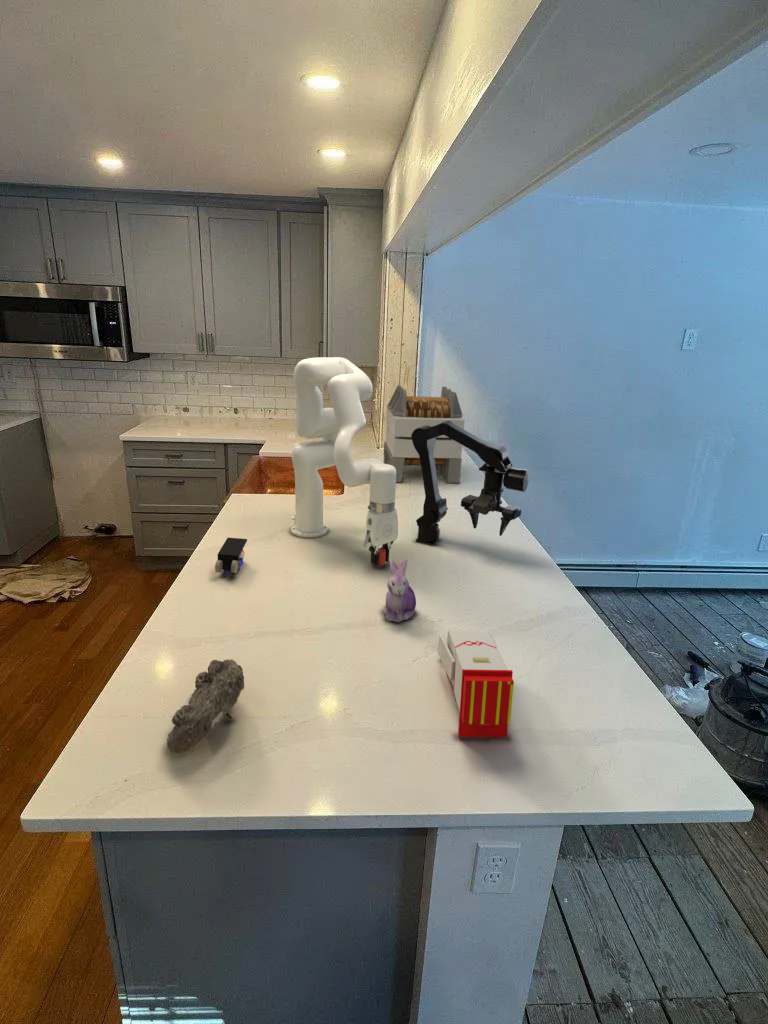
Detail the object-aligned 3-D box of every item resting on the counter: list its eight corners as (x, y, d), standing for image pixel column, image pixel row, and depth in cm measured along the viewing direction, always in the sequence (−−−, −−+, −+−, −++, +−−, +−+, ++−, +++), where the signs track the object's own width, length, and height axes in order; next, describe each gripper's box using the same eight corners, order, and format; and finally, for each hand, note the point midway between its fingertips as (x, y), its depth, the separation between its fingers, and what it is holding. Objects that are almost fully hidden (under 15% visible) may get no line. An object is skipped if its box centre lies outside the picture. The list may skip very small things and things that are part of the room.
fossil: (192, 660, 117) (244, 628, 112) (224, 691, 120) (276, 661, 115) (142, 746, 98) (202, 712, 93) (182, 779, 101) (242, 748, 96)
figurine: (392, 627, 141) (395, 572, 136) (374, 608, 149) (376, 556, 144) (425, 619, 145) (429, 566, 140) (405, 601, 154) (408, 550, 149)
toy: (488, 613, 130) (523, 677, 101) (484, 667, 133) (517, 744, 104) (435, 612, 130) (455, 676, 101) (432, 666, 133) (451, 743, 103)
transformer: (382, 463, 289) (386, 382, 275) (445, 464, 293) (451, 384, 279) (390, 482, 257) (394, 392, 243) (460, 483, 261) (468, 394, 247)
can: (386, 564, 173) (387, 551, 172) (376, 566, 172) (376, 553, 171) (383, 560, 176) (383, 547, 175) (372, 561, 175) (373, 548, 174)
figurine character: (238, 584, 162) (249, 557, 175) (236, 562, 158) (247, 536, 172) (215, 584, 161) (227, 556, 175) (212, 561, 158) (225, 535, 171)
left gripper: (369, 515, 160) (367, 573, 166) (410, 503, 171) (407, 559, 177) (352, 508, 165) (351, 565, 171) (392, 497, 176) (390, 551, 182)
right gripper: (454, 484, 177) (450, 531, 182) (509, 498, 167) (503, 547, 172) (471, 477, 185) (467, 522, 191) (524, 490, 175) (518, 536, 180)
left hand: (379, 561), depth 174 cm, fingers closed on can, 3 cm apart
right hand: (487, 531), depth 183 cm, fingers open, 9 cm apart
